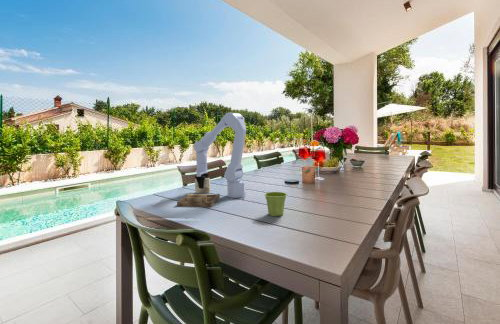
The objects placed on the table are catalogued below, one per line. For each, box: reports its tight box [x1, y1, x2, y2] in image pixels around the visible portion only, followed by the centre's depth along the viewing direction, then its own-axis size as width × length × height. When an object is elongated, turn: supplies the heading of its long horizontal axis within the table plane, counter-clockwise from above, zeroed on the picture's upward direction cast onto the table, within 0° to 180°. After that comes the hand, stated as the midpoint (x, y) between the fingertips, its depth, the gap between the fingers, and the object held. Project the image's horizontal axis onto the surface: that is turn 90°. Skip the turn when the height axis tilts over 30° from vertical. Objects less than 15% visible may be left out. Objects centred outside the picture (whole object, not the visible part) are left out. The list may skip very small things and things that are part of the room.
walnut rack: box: [176, 192, 221, 208], centre depth 137 cm, size 16×18×3 cm
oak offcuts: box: [187, 193, 208, 203], centre depth 132 cm, size 9×3×4 cm, turn 84°
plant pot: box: [264, 191, 288, 217], centre depth 118 cm, size 9×9×9 cm
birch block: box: [194, 177, 211, 194], centre depth 157 cm, size 8×2×9 cm, turn 84°
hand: (202, 187), depth 157 cm, fingers open, 5 cm apart
